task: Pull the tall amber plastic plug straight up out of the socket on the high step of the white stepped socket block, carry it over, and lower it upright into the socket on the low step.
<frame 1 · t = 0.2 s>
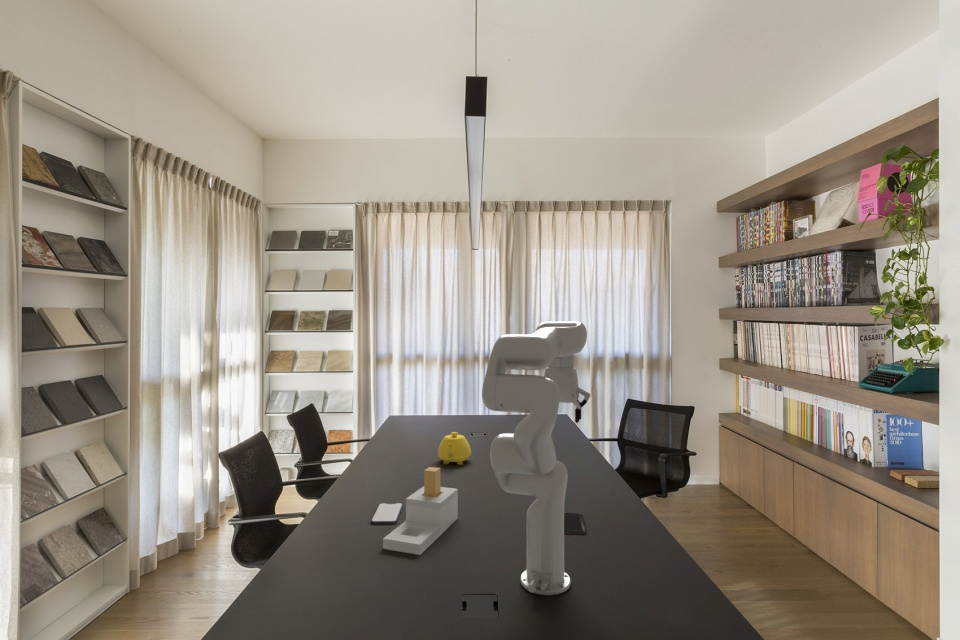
hand: (561, 420, 153), 37 cm above the table, tool pointing down, fingers open, 9 cm apart
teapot: (453, 463, 238), on the table
phone: (572, 526, 167), on the table
white stepped socket block: (423, 532, 161), on the table
plug: (432, 499, 168), point 8 cm above the table, touching white stepped socket block
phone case: (387, 516, 176), on the table
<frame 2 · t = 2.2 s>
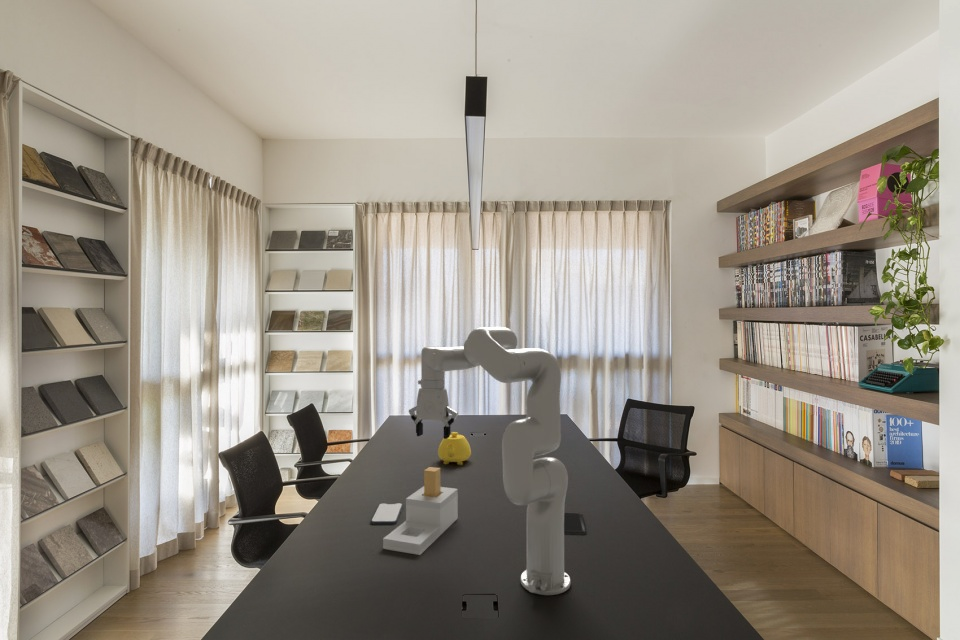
hand: (433, 436, 167), 29 cm above the table, tool pointing down, fingers open, 9 cm apart
nothing on the table moved.
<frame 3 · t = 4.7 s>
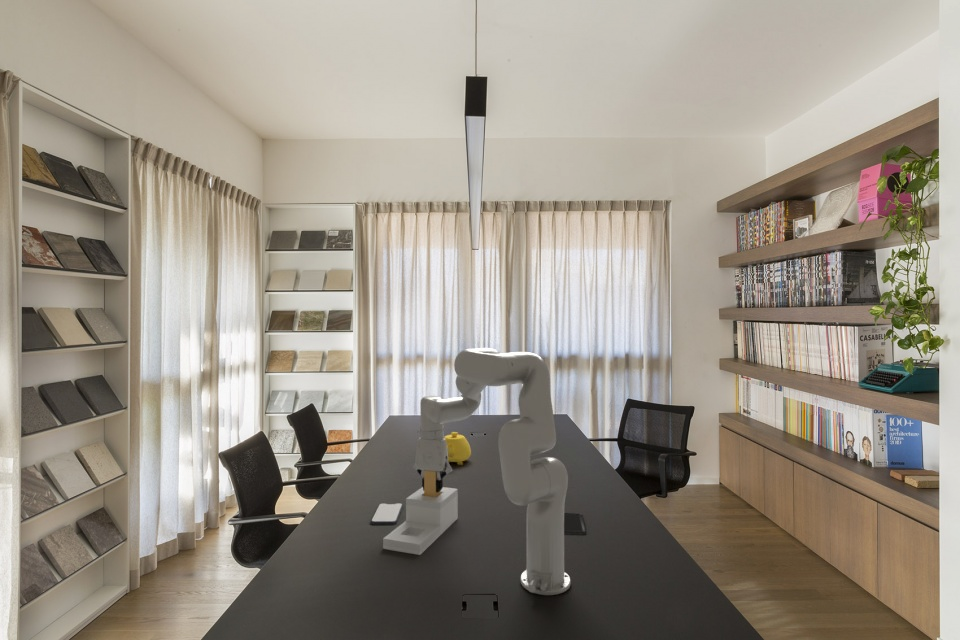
hand: (432, 489, 168), 11 cm above the table, tool pointing down, fingers closed on plug, 3 cm apart
plug: (432, 499, 168), point 8 cm above the table, touching white stepped socket block, gripper
everything else where it was.
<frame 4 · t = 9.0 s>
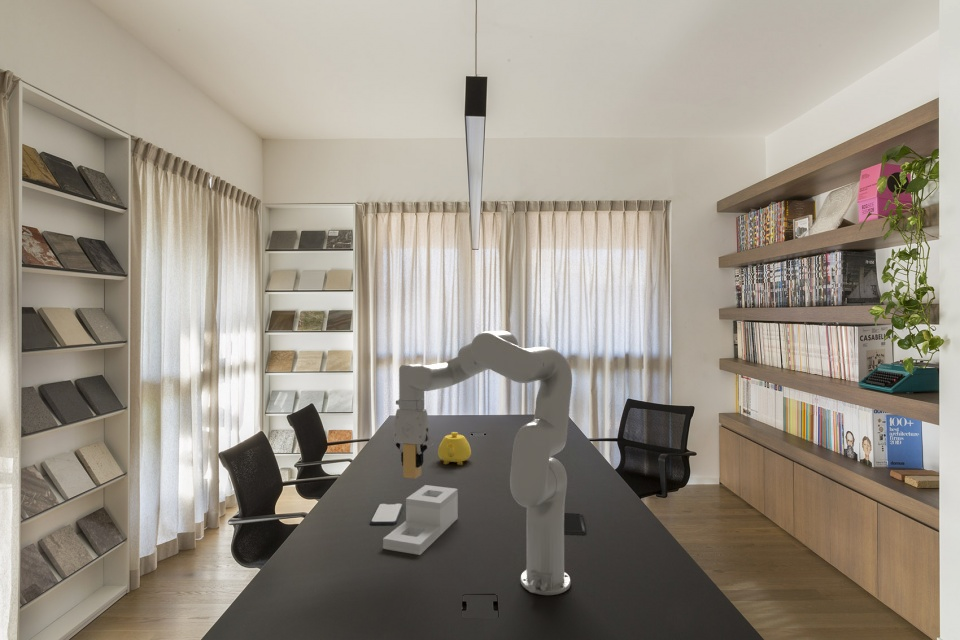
hand: (412, 464, 154), 23 cm above the table, tool pointing down, fingers closed on plug, 3 cm apart
plug: (412, 475, 154), point 20 cm above the table, touching gripper
everything else where it was.
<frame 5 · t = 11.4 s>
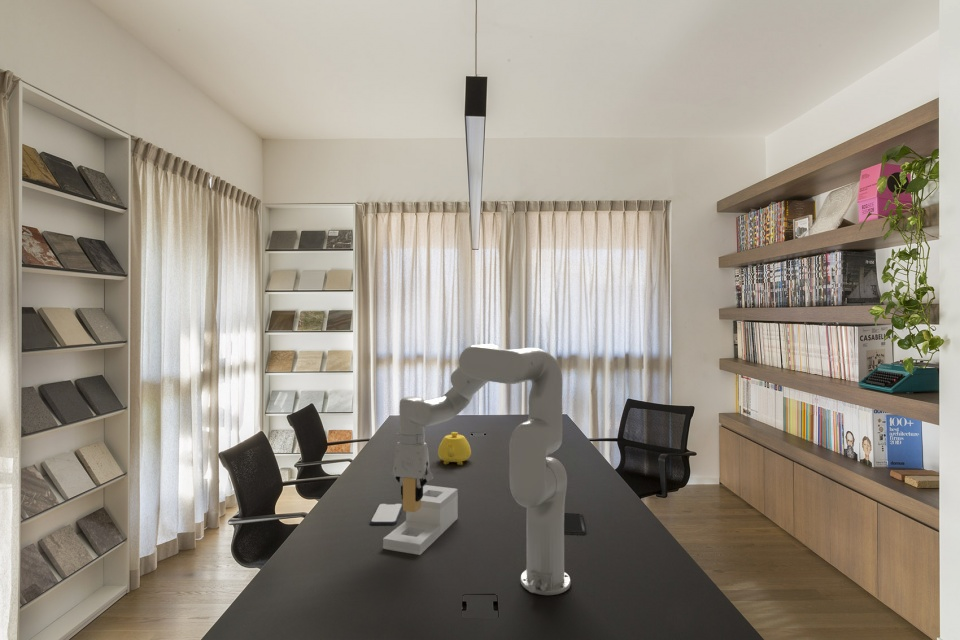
hand: (411, 498, 154), 13 cm above the table, tool pointing down, fingers closed on plug, 3 cm apart
plug: (411, 509, 155), point 10 cm above the table, touching gripper
everything else where it was.
when the fingers open (5 cm above the table, at t = 13.6 s): plug stays where it is, resting on white stepped socket block.
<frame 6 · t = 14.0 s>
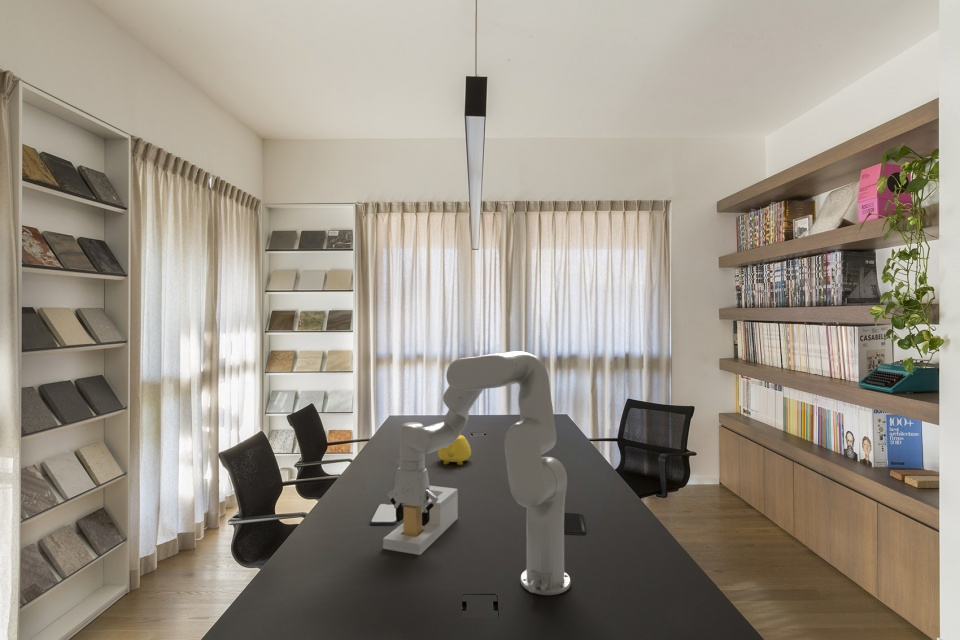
hand: (412, 522, 154), 6 cm above the table, tool pointing down, fingers open, 8 cm apart
plug: (412, 538, 154), point 1 cm above the table, touching white stepped socket block
everything else where it was.
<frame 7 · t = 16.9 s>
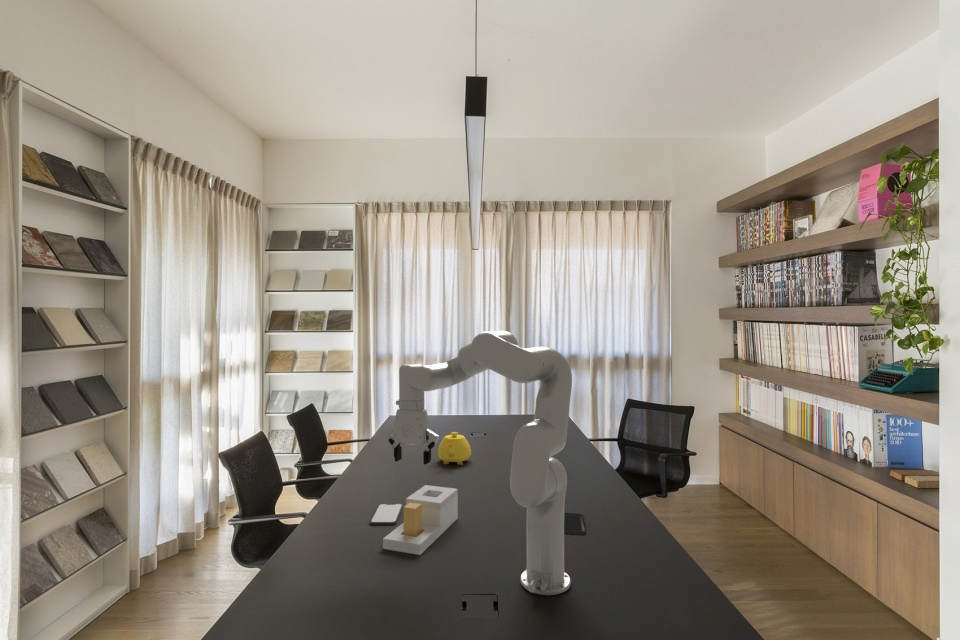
hand: (412, 461, 154), 24 cm above the table, tool pointing down, fingers open, 9 cm apart
nothing on the table moved.
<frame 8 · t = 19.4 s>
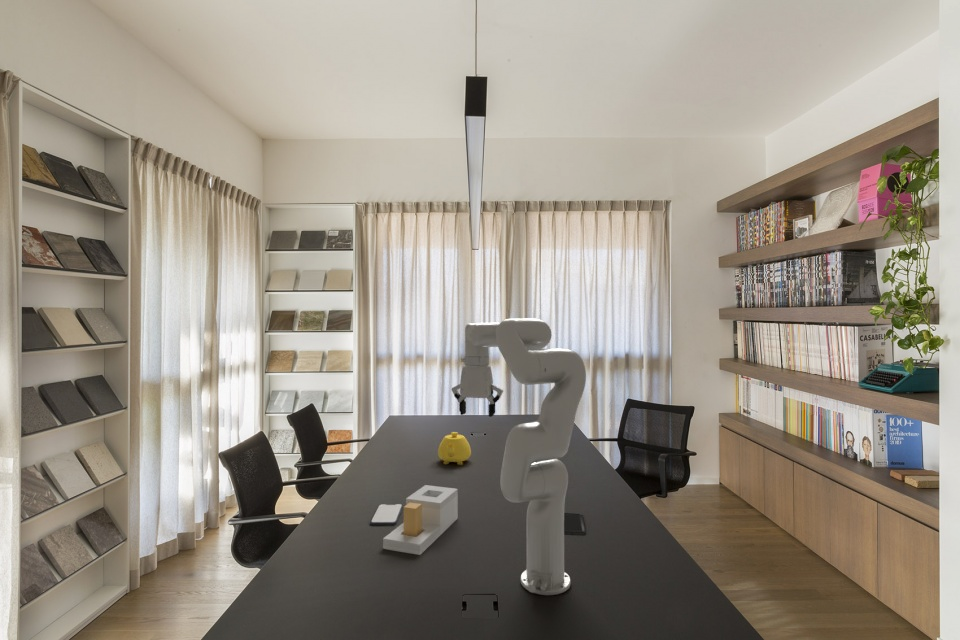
hand: (477, 415, 164), 36 cm above the table, tool pointing down, fingers open, 9 cm apart
nothing on the table moved.
at the end: plug 0.1 cm from the target spot on the white stepped socket block, point 1.0 cm above the white stepped socket block's base; plug tilted 0°; the gripper is holding nothing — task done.
